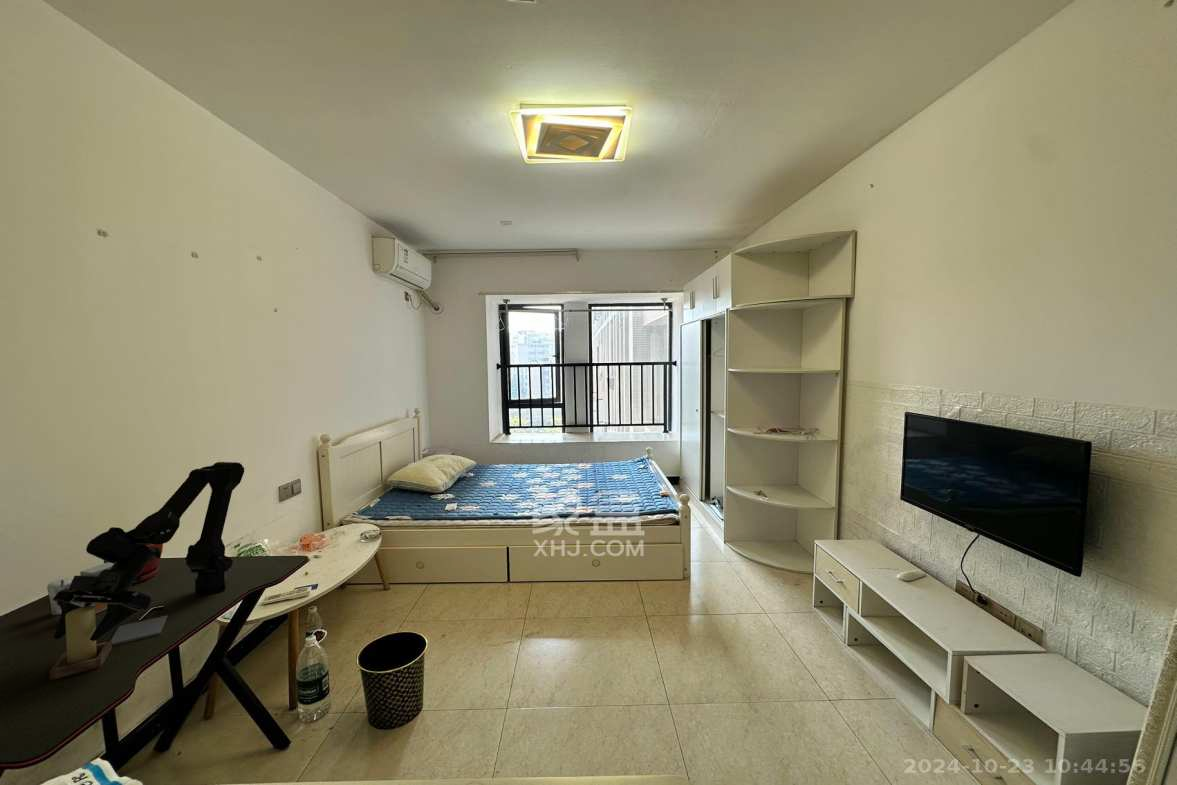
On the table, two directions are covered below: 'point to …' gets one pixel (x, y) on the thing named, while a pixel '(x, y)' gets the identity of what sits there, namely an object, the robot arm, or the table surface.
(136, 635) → the slate mat
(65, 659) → the walnut socket
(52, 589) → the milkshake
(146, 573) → the plant pot
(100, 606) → the skincare box
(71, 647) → the wooden shaft
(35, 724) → the table surface
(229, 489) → the robot arm
